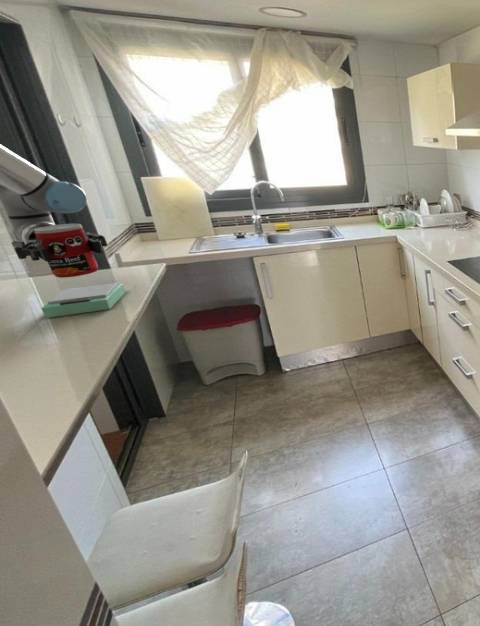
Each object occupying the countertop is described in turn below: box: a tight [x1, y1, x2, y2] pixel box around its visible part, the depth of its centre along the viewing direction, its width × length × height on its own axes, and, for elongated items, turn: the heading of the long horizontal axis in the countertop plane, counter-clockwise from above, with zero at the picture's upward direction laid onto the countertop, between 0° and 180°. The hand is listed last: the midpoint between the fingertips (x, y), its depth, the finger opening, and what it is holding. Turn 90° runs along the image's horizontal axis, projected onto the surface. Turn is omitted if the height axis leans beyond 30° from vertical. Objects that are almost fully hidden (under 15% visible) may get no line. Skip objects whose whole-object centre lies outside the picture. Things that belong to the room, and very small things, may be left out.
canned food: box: [34, 223, 99, 279], centre depth 106 cm, size 8×8×11 cm
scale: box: [41, 282, 126, 319], centre depth 110 cm, size 11×14×3 cm
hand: (72, 251), depth 104 cm, fingers closed on canned food, 8 cm apart
